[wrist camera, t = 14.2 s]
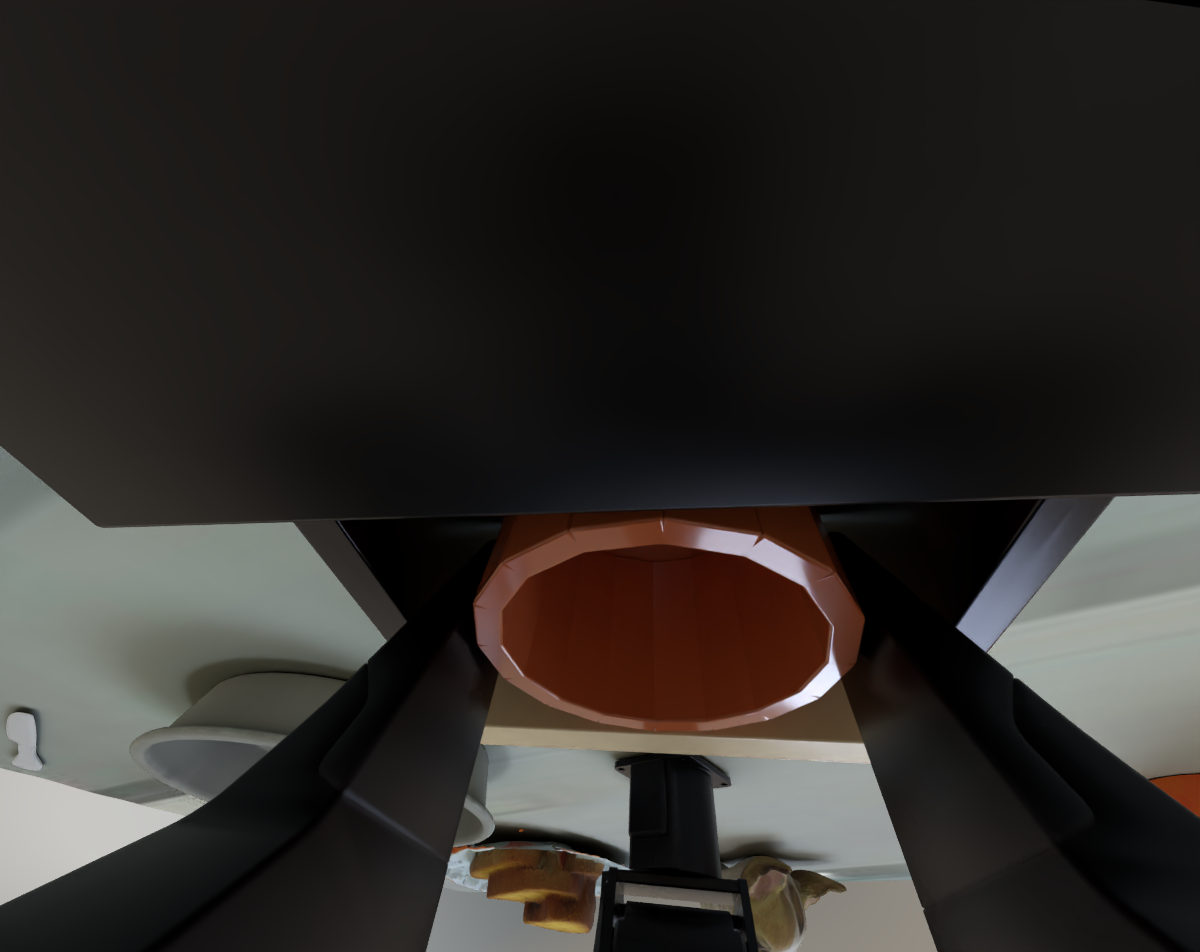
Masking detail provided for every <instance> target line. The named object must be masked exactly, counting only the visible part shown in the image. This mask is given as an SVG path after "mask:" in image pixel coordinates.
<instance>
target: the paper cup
mask: <svg viewBox="0 0 1200 952" xmlns="http://www.w3.org/2000/svg"><path fill="white" fill-rule="evenodd" d="M1149 781H1150V782H1152V783H1153V784H1155V785H1156V786H1157V787H1159V788H1160V789H1161V790H1163V791H1164V792H1166V793H1167V794H1168V795H1170V796H1171V797H1172V798H1174V799H1175V800H1176V801H1178V802H1179V803H1181V804H1182V805H1183V806H1185V807H1186V808H1187V809H1189V810H1190V811H1191V812H1193V813H1194V814H1196V815H1197V816H1198V817H1200V774H1194V775H1179V776H1170V777H1164V778H1158V779H1153V780H1149Z"/></svg>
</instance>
